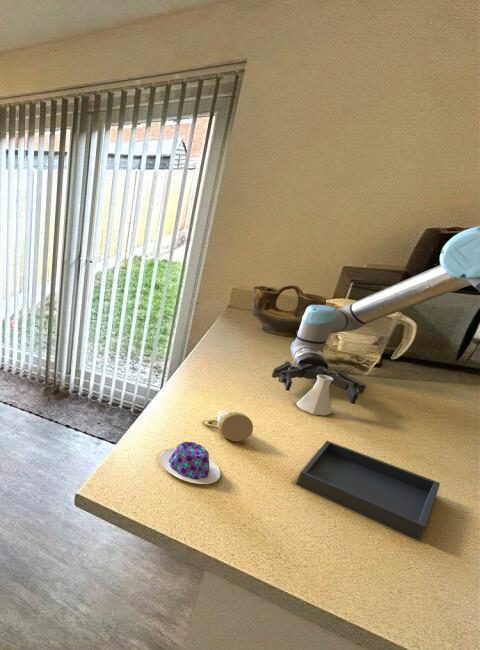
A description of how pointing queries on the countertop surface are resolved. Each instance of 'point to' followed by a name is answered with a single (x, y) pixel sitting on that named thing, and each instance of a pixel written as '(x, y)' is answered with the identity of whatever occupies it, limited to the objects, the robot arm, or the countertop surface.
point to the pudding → (190, 463)
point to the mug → (232, 425)
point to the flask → (317, 397)
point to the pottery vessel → (277, 318)
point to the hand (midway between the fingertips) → (320, 392)
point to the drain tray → (371, 488)
